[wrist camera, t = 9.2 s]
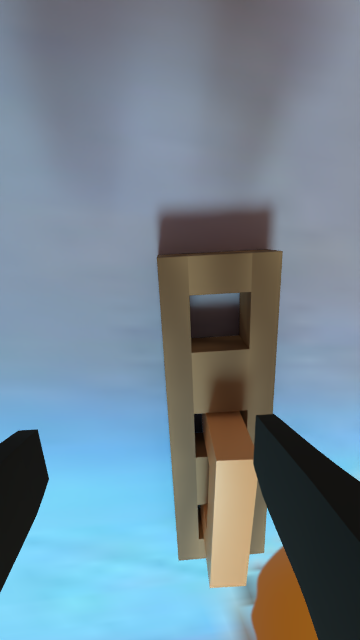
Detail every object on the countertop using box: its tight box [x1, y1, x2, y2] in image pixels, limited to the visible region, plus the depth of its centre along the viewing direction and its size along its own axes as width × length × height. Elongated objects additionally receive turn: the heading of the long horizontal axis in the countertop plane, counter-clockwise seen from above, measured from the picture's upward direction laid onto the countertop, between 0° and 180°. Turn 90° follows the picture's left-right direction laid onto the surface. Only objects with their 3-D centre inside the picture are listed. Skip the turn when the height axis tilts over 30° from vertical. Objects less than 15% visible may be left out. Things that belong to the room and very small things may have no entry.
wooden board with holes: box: [157, 249, 283, 560], centre depth 20 cm, size 7×24×2 cm, turn 3°
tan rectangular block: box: [200, 411, 258, 588], centre depth 19 cm, size 2×10×6 cm, turn 0°
